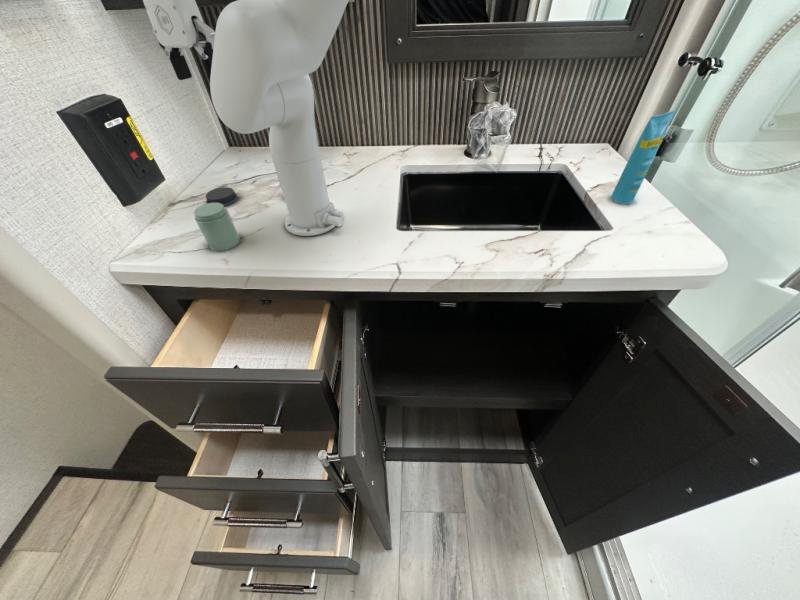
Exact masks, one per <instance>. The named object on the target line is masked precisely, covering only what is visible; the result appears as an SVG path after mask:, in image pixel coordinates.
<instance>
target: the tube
mask: <svg viewBox="0 0 800 600" xmlns="http://www.w3.org/2000/svg"><path fill="white" fill-rule="evenodd" d="M675 112H676V109H673V110H670V111H667V112H665V113H662V114H658V115H652V116H651V117H650V118H649V121H647V123H646V125H645V127H644V129H643V130H642V132H641V134H640V136H639V138H638V140H637V142H636V144H635V146H634V148H633V150H632V153H631V154H630V157H629V158H628V160H627V162H626V164H625V167H624V168H623V170H622V173H621V174H620V177H619V179H618V181H617V183H616V185H615V187H614V190H612V193H611V195H610V199H611V200H612V201H613V202H614V203H616V204H621V205H631V204H632V203H633V202H634V201H635V198H636V196H637V195H638V192H639V190H640V188H641V186H642V184H643V182H644V180H645V177H646V176H647V174H648V171H649V169H650V167H651V165H652V163H653V161H654V158H655V156H656V154H657V152H658V150H659V148H660V146H661V144H662V141H663V140H664V137H665V135H666V133H667V131H668V128H669V126H670V124H671V121H672V119H673V117H674V115H675Z"/></svg>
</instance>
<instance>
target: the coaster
mask: <svg viewBox="0 0 800 600" xmlns="http://www.w3.org/2000/svg"><path fill="white" fill-rule="evenodd" d="M235 195H236V197H235V198H234V199H233V200H232V201H230V202H228V203H225V204H222V205H224V207H225V208H226V207H228V206H231V205H233V204H234V203H236V202H237V201H238V199H239V197H238V195H237V193H235ZM208 203H209V202H208V201H207V200H206V204H208Z"/></svg>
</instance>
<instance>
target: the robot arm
mask: <svg viewBox="0 0 800 600" xmlns="http://www.w3.org/2000/svg"><path fill="white" fill-rule="evenodd" d="M349 1H350V0H235V1H232V2H229V4H227V5H226V6H225V7H224V8H223V9H222V10H221V12H220V13H219V16H218V17H217V21H216V24H215V25H216V26H215V30H214V29H213V28H212V27H210V25H208V24H206V23H205V22H204V19H203V17H202V15H201V12H200V9H199V6H198V5H197V2H196V0H142V2H143V5H144V8H145V11H146V14H147V16H148V19H149V22H150V23H151V26H152V28H151V33H152V35H153V36H154V38H155V39H156V41H157V42H158V45H159V46H160V48H161V49H162V50H163V51H164V53H165V56H166V57H167V58H168V59H169V62H170V64H171V66H172V68H173V70H174V73H175V76H176V77H177V80H178V81H183V80H188V79H191V78H192V77H193V75H192V73H191V70H190V67H189V64H188V62H187V60H186V57H185V55H184V54H182V49H190V48H192V47H193V48H194V49H195V51H196V52H197V53H198V54H199V55H200V57H201V58H202V59H200V62H201V64H202V66H203V69H204V72H205V74H206V77H207V80H208V82H209V89H210V97H211V102H212V105H213V107H214V111H215V112H216V114H217V117H218V118H219V119H220V120H221V121H222V123H223V124H224V125H225V126H226V127H227V128H228V129H230V130H231V131H233V132H236V133H237V134H242V135H248V134H249V135H250V134H254V133H258V132H261V131H263V130H266V129H269V131H268V148H269V152H270V155H271V159H272V163H273V165H274V166H273V167H274V169H275V173H276V176H277V179H278V183H279V186H280V189H281V193H282V196H283V199H284V203H285V205H286V209H287V212H288V214H287V215H286V217H285V218H284V226H285V229H286V230H287V231H288V232H289V233H291V234H292V235H295V236H300V237H313V236H318V235H322V234H325V233H327V232H330V231H331V230H332V229H334V228H335V227H342V225H343V223H344V222H343V221H344V217H345V213H344V212H342V211H338V210H337V209H336V208H335V203H334V202H330V197H329V193H328V187H327V182H326V177H325V172H324V168H323V162H322V157H321V151H320V146H319V142H318V141H319V140H318V135H317V128H316V119H315V92H314V86H313V83H312V80H311V76H310V75H309V74H313V73H315V72H316V71H317V70H318V69H319V67H320V66H321V65H322V63H323V60H324V59H325V57H326V54H327V52H328V51H329V47H330V46H331V43H332V41H333V39H334V36H335V34H336V32H337V30H338V27H339V25H340V22H341V20H342V18H343V15H344V13H345V10H346V7H347V5H348V3H349Z"/></svg>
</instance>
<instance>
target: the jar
mask: <svg viewBox="0 0 800 600" xmlns="http://www.w3.org/2000/svg"><path fill="white" fill-rule="evenodd" d="M193 214H194V221H195V222H196V225H197V226H198V228H199V230H200V232H201V233H202V236H203V237H204V239H205V241H206V243H207V245H208V247H209V249H210V250H211V251H214V252H224V251H228V250H230V249H231V250H232V249H233V248H235V247H236V246H237V245H238V244H239V243H240V241H241V238H240V235H239V233H238V231H237V228H236V225H235V224H234V222H233V219H232V217H231V215H230V212H229V210H228V209H227V208H226V206H225V207H224V205H222V204H221V203H208V204H207V203H204V204H201V205H200V206H198V207H197V208H195V209H194V211H193Z"/></svg>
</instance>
